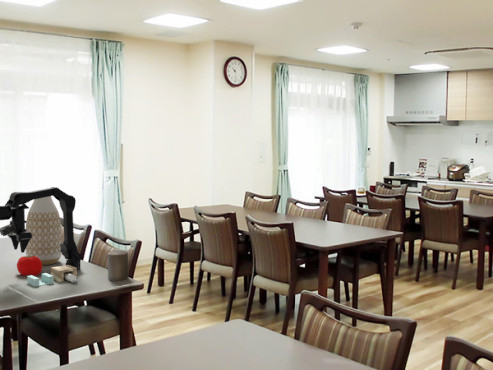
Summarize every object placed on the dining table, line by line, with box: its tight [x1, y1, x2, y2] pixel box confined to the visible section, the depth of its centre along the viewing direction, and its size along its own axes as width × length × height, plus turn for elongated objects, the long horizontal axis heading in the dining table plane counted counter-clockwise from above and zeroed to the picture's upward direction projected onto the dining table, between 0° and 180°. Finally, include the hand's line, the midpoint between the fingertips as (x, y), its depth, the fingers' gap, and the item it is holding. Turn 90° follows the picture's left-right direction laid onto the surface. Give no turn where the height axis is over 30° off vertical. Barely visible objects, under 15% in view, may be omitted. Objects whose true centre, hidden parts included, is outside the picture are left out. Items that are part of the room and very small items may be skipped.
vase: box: [25, 196, 63, 266], centre depth 298 cm, size 19×19×38 cm
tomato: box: [16, 255, 43, 277], centre depth 271 cm, size 11×13×10 cm
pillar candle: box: [107, 250, 129, 282], centre depth 265 cm, size 10×10×15 cm
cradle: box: [26, 272, 55, 288], centre depth 255 cm, size 9×8×4 cm
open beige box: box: [50, 265, 78, 283], centre depth 264 cm, size 9×9×6 cm
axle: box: [64, 272, 79, 284], centre depth 261 cm, size 16×3×3 cm, turn 44°
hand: (19, 251), depth 260 cm, fingers open, 9 cm apart
